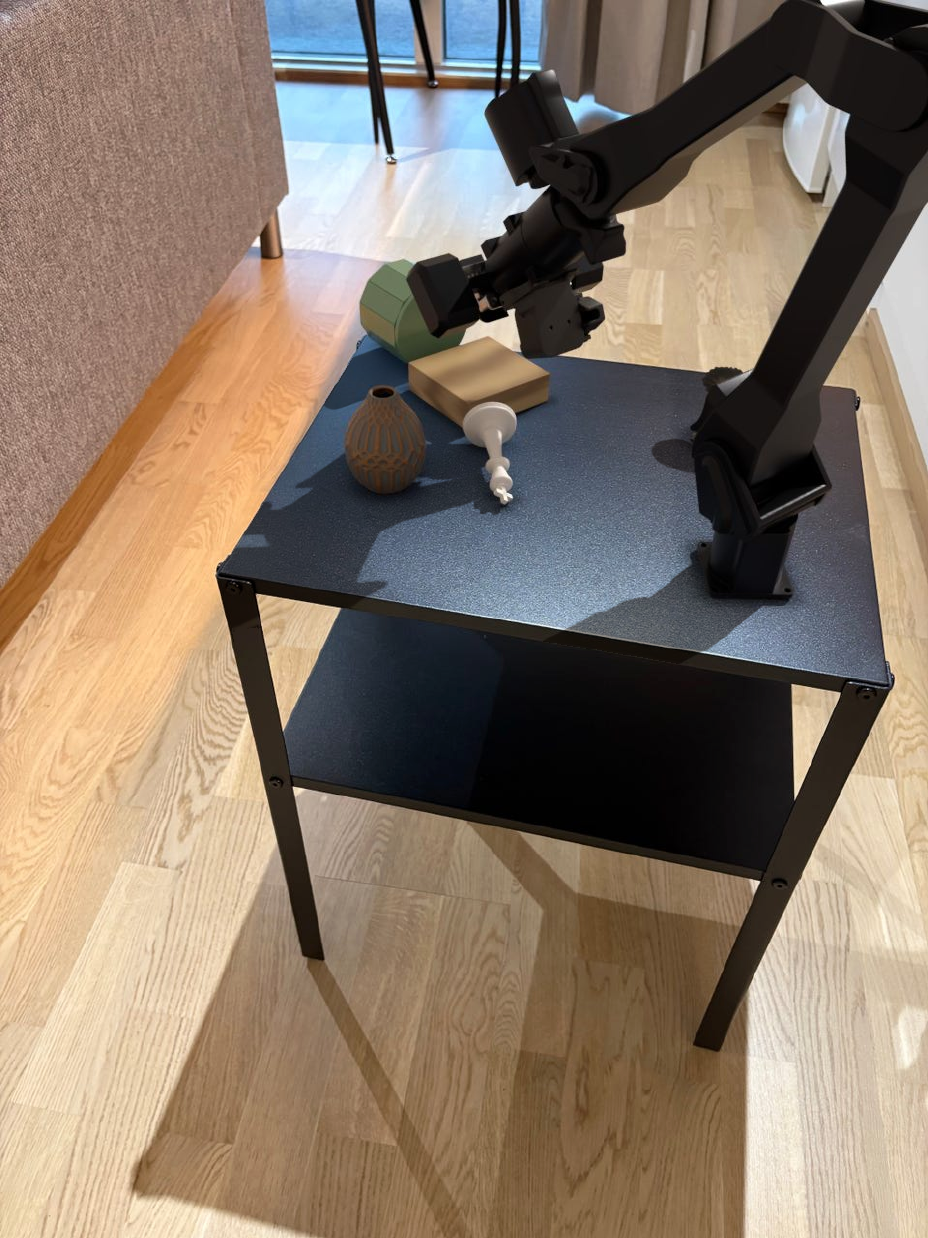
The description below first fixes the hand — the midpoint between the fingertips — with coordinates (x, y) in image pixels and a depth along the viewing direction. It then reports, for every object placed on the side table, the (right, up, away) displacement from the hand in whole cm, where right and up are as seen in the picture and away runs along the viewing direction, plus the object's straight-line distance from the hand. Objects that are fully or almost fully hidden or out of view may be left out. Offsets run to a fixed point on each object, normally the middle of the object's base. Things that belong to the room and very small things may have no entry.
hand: (468, 315), depth 96 cm
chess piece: (+2, -11, -5) cm, 12 cm away
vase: (-7, -17, -7) cm, 20 cm away
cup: (-3, 0, +5) cm, 6 cm away
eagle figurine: (+26, -12, -1) cm, 29 cm away
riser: (+1, -7, +4) cm, 8 cm away
